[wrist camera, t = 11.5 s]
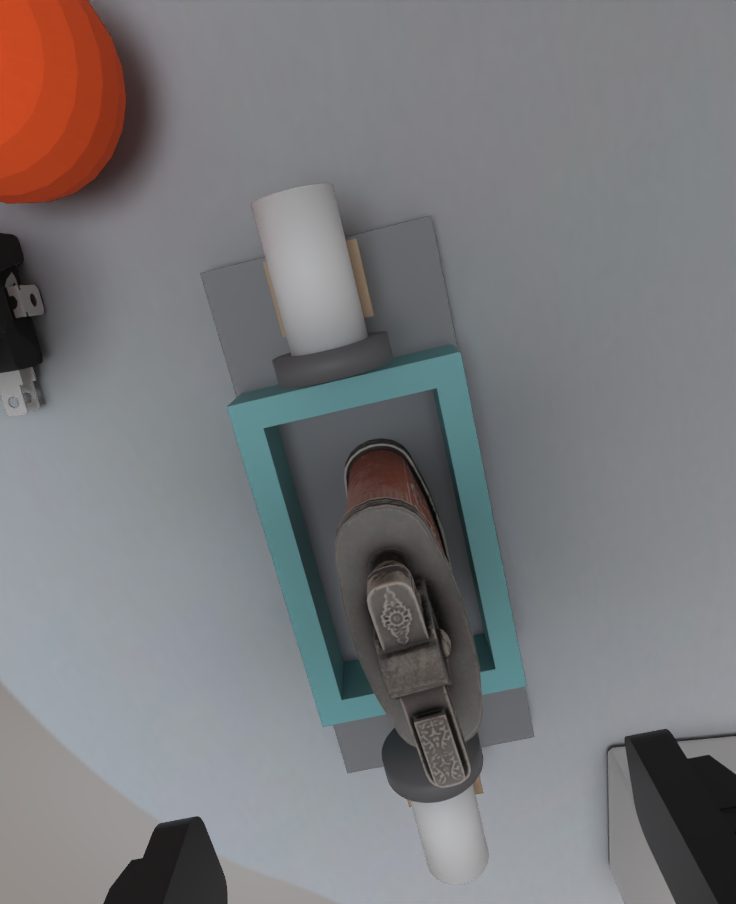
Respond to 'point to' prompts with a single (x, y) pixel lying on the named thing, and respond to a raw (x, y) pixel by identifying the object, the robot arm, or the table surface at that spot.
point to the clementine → (56, 98)
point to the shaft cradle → (324, 457)
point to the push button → (17, 331)
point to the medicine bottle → (627, 844)
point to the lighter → (408, 609)
